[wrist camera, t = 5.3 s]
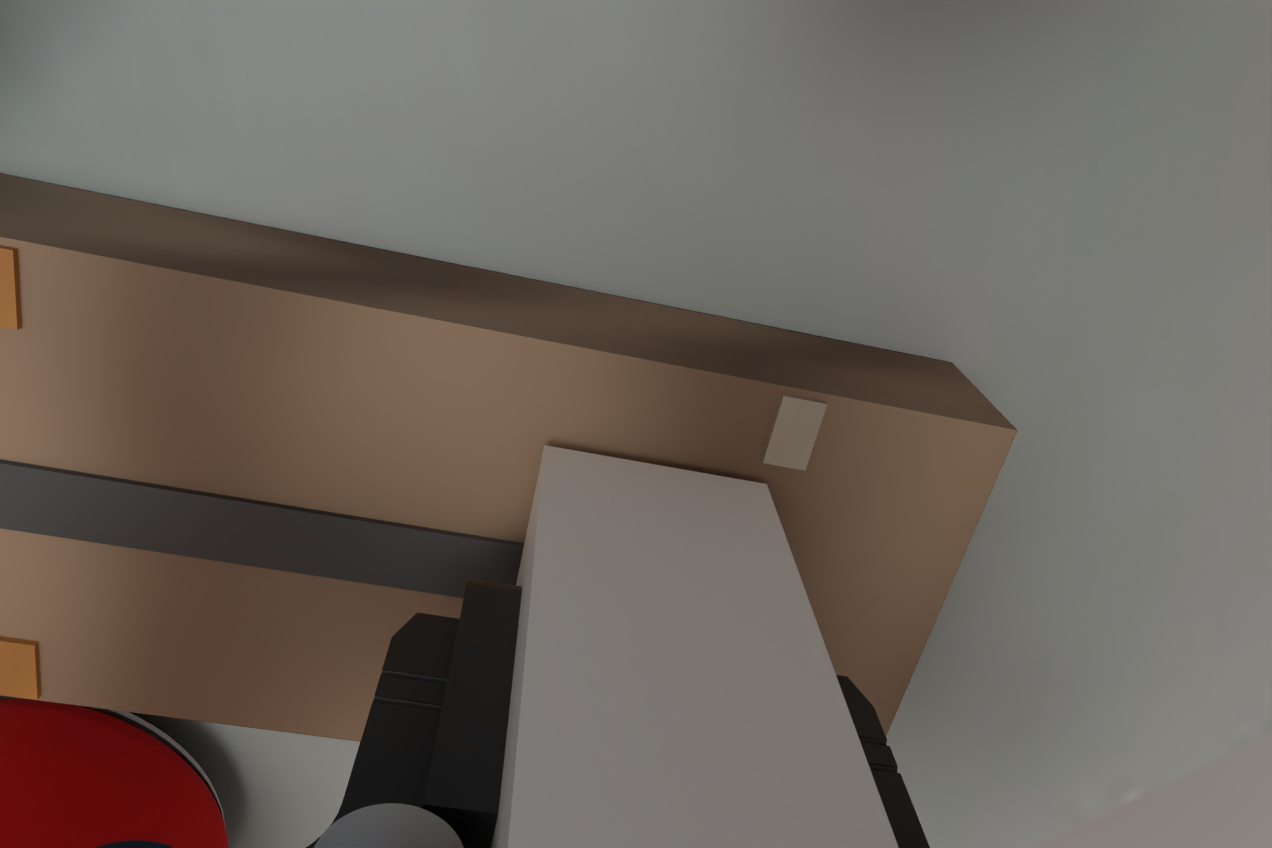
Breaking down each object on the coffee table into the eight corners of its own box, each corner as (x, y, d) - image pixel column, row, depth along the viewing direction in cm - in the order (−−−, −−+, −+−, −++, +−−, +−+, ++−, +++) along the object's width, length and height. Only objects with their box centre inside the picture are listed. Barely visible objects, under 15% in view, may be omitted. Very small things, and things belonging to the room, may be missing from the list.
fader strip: (951, 362, 15) (1020, 432, 13) (821, 700, 18) (857, 809, 15) (-474, 79, 12) (-724, 102, 10) (-359, 531, 15) (-534, 632, 13)
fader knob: (770, 484, 12) (1033, 1192, 5) (691, 734, 14) (801, 1523, 7) (540, 444, 12) (472, 1154, 5) (488, 706, 14) (378, 1516, 7)
